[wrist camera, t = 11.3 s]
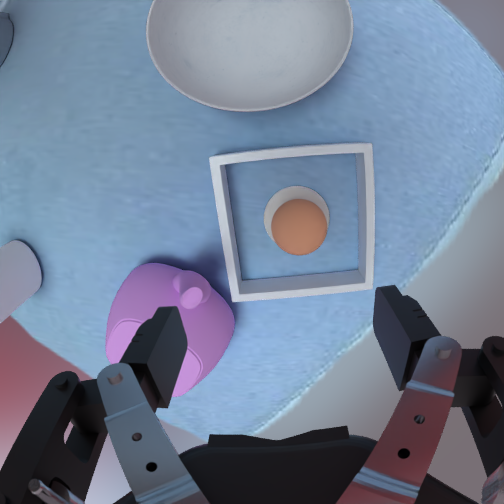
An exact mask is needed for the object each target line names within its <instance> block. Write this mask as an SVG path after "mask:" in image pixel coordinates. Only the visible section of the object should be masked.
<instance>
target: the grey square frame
mask: <svg viewBox="0 0 504 504" xmlns="http://www.w3.org/2000/svg"><path fill="white" fill-rule="evenodd" d="M344 153H355V157H356V173H357V193H358V270H351V271H342V272H332V273H322V274H311V275H300V276H289V277H278V278H266V279H254V280H242V277H241V270H240V264H239V257H238V250H237V244H236V237H235V230H234V223H233V216H232V210H231V203H230V196H229V189H228V182H227V175H226V167H225V164H232V163H240V162H248V161H257V160H266V159H276V158H286V157H298V156H311V155H326V154H344ZM209 161H210V168H211V174H212V181H213V188H214V194H215V201H216V207H217V213H218V220H219V226H220V232H221V238H222V244H223V250H224V256H225V262H226V268H227V274H228V280H229V286H230V291H231V297H232V302H241V301H255V300H268V299H280V298H292V297H303V296H314V295H324V294H333V293H343V292H352V291H360V290H369V289H373V273H374V247H375V193H374V167H373V150H372V143H365V142H351V143H329V144H313V145H299V146H287V147H276V148H266V149H257V150H249V151H240V152H233V153H225V154H218V155H214V156H211V157H209Z"/></svg>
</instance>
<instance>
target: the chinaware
mask: <svg viewBox="0 0 504 504" xmlns="http://www.w3.org/2000/svg"><path fill="white" fill-rule="evenodd" d="M352 38H353V16H352V11H351V7H350V4H349V1H348V0H153V2H152V5H151V7H150V10H149V14H148V18H147V24H146V40H147V46H148V50H149V53H150V56H151V59H152V61H153V63H154V65H155V67H156V68H157V70H158V71H159V73H160V74H161V75H162V77H163V78H164V79H165V80H166V81H167V82H168V83H169V84H170V85H171V86H172V87H173V88H175V89H176V90H177V91H179V92H180V93H182V94H183V95H185V96H186V97H188V98H190V99H192V100H194V101H196V102H198V103H201V104H204V105H206V106H210V107H213V108H217V109H222V110H228V111H237V112H255V111H265V110H271V109H275V108H280V107H283V106H286V105H289V104H292V103H295V102H297V101H299V100H301V99H303V98H305V97H307V96H309V95H311V94H312V93H314V92H315V91H317V90H318V89H320V88H321V87H322V86H323V85H325V84H326V83H327V82H328V81H329V80H330V79H331V78H332V77H333V76H334V75H335V74H336V72H337V71H338V70H339V69H340V67H341V66H342V64H343V62H344V61H345V59H346V57H347V55H348V52H349V49H350V46H351V43H352Z"/></svg>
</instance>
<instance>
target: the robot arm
mask: <svg viewBox="0 0 504 504" xmlns="http://www.w3.org/2000/svg"><path fill="white" fill-rule="evenodd" d="M12 37H13V25H12V22H11V21H10V20H9V14H7V13H3V12H0V66H1V64H2V63H3V61H4V59H5V57H6V55H7V53H8V51H9V48H10V45H11V42H12ZM373 328H374V333H375V335H376V338H377V340H378V342H379V345H380V347H381V349H382V351H383V354H384V356H385V358H386V361H387V363H388V366H389V368H390V370H391V373H392V375H393V378H394V380H395V382H396V385H397V387H398V390H399V391H402V390H404V392H403V394H402V396H401V398H400V400H399V402H398V404H397V406H396V408H395V410H394V412H393V415H392V416H391V418H390V420H389V422H388V424H387V426H386V428H385V430H384V431H383V433H382V435H381V437H380V439H379V440H378V441H376V440H373V439H370V438H367V437H363V436H357V435H349V432H348V428H347V426H341V427H334V428H327V429H319V430H312V431H310V432H306V433H303V434H300V435H296V436H294V437H289V438H286V439H282V440H270V439H263V438H258V437H253V436H247V435H215V434H210V436H209V441H208V444H203V445H200V446H196V447H194V448H191V449H189V450H187V451H185V452H183V453H181V454H178V452H177V451H176V449H175V447H174V446H173V444H172V443H171V441H170V439H169V437H168V436H167V434H166V433H165V431H164V429H163V427H162V425H161V423H160V422H159V420H158V418H157V416H156V414H155V412H156V409H157V408H168V406H169V403H170V400H171V397H172V394H173V391H174V388H175V385H176V382H177V379H178V376H179V373H180V370H181V367H182V364H183V361H184V358H185V355H186V352H187V346H188V342H187V336H186V332H185V329H184V326H183V322H182V319H181V316H180V312H179V309H178V307H177V306H164V307H158V308H157V310H156V312H155V313H154V315H153V317H152V319H147V320H146V321H145V322H144V323H143V324H141V325H140V326H139V328H138V330H137V331H136V333H135V336H134V337H133V338H132V340H131V342H130V343H129V345H128V347H127V349H126V351H125V352H124V354H123V356H122V358H121V359H120V361H119V363H115V364H111V365H109V366H107V367H105V368H104V369H103V370H102V371H101V372H100V373H99V374H98V377H97V379H92V380H86V381H80V379H79V378H78V376H77V375H76V373H74V372H71V371H65V372H61V373H59V374H57V375H56V376H54V377H53V378H52V379H51V380H50V382H49V383H48V385H47V387H46V388H45V390H44V391H43V393H42V395H41V396H40V398H39V400H38V402H37V403H36V405H35V406H34V408H33V410H32V412H31V413H30V415H29V417H28V419H27V420H26V422H25V424H24V426H23V428H22V430H21V431H20V433H19V435H18V437H17V439H16V441H15V443H14V444H13V446H12V448H11V450H10V452H9V454H8V456H7V458H6V460H5V462H4V464H3V466H2V468H1V470H0V504H85V503H84V502H85V499H86V495H87V492H88V489H89V486H90V483H91V480H92V476H93V474H94V471H95V467H96V465H97V462H98V459H99V456H100V453H101V450H102V448H103V444H104V442H105V439H106V436H107V434H108V433H109V436H110V438H111V441H112V444H113V447H114V449H115V452H116V455H117V457H118V460H119V462H120V465H121V467H122V469H123V472H124V474H125V477H126V479H127V481H128V483H129V486H130V488H131V490H132V491H131V492H129V493H128V494H126V495H125V496H123V497H122V498H121V499H119V500H118V501H116V502H115V503H113V504H478V503H477V502H475V501H474V500H472V499H470V498H468V497H466V496H465V495H463V494H461V493H459V492H458V491H456V490H454V489H453V488H451V487H449V486H448V485H446V484H444V483H443V482H441V481H439V480H438V479H436V478H434V477H432V476H431V475H430V474H428V473H427V471H428V469H429V466H430V464H431V462H432V459H433V457H434V454H435V452H436V449H437V446H438V444H439V441H440V438H441V436H442V433H443V430H444V427H445V424H446V421H447V418H448V415H449V412H450V408H451V407H461V408H462V411H463V413H464V415H465V418H466V420H467V423H468V425H469V427H470V430H471V433H472V435H473V438H474V440H475V443H476V446H477V449H478V451H479V454H480V457H481V460H482V463H483V466H484V468H485V472H486V475H487V479H486V481H485V482H484V484H483V487H482V499H481V503H482V504H504V338H502V337H499V336H492V337H488V338H487V339H485V340H484V342H483V344H482V347H481V349H462V348H461V345H460V344H459V343H458V342H457V341H456V340H454V339H452V338H450V337H446V336H441V334H440V333H439V332H438V330H437V329H436V327H435V326H434V324H433V323H432V321H431V320H430V319H429V317H428V316H427V314H426V313H425V312H424V310H422V307H421V306H420V305H419V303H418V302H417V301H416V300H414V299H413V298H411V297H410V296H408V295H406V296H402V294H401V293H400V291H399V290H398V288H397V287H396V286H395V285H390V286H383V287H377V288H376V292H375V303H374V315H373ZM496 394H497V396H498V398H499V400H500V401H501V403H502V407H501V405H500V403H499V401H498V399H497V397H496ZM502 408H503V409H502ZM70 421H71V423H72V424H73V425H74V426H73V428H72V430H71V433H70V435H69V437H68V439H67V441H66V444H65V443H64V433H65V431H66V428H67V426H68V424H69V422H70Z"/></svg>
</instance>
